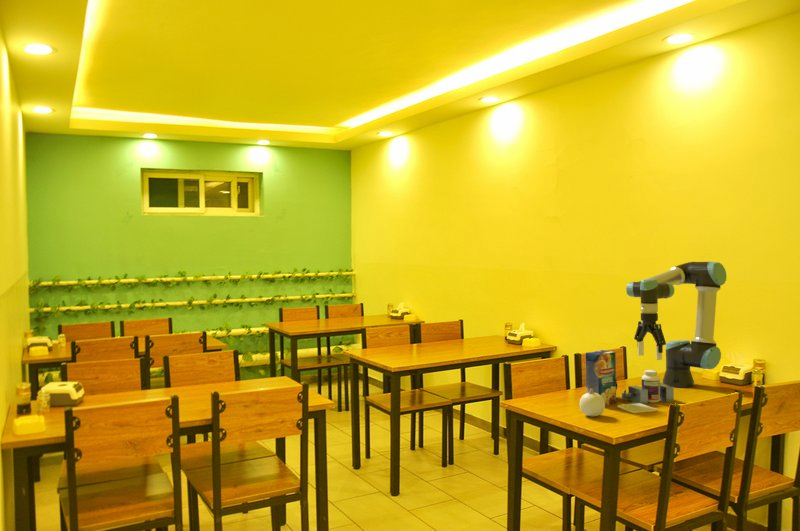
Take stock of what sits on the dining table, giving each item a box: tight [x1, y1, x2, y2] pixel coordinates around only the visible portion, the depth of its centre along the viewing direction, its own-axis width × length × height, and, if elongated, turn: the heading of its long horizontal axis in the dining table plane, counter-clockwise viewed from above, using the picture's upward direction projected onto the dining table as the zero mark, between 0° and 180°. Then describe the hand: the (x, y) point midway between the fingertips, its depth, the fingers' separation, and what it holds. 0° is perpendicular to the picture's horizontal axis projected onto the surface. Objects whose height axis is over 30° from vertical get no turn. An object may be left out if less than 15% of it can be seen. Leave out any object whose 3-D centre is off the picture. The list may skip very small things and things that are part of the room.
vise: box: [621, 382, 675, 405], centre depth 304 cm, size 24×14×7 cm, turn 105°
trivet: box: [616, 403, 658, 414], centre depth 288 cm, size 12×12×1 cm
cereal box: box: [585, 349, 617, 407], centre depth 299 cm, size 12×8×24 cm, turn 123°
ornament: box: [579, 389, 606, 418], centre depth 278 cm, size 10×10×12 cm
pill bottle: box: [641, 369, 661, 404], centre depth 302 cm, size 8×8×14 cm
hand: (649, 357), depth 302 cm, fingers open, 13 cm apart
